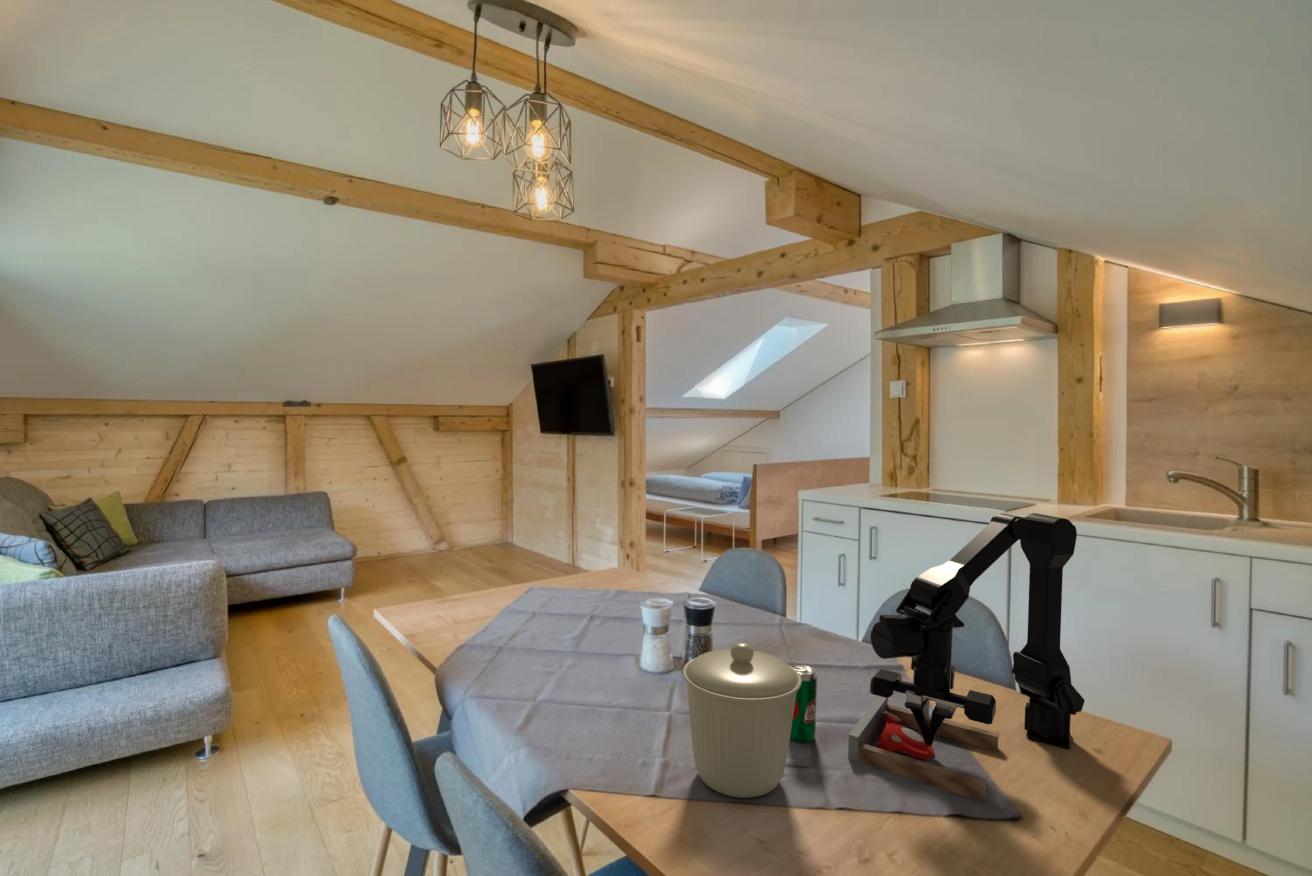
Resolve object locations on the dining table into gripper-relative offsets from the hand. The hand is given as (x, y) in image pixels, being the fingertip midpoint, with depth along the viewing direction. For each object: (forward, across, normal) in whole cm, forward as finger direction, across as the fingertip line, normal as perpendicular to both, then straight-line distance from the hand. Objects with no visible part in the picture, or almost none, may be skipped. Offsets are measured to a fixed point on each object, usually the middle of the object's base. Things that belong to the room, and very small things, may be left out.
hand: (929, 744), depth 106 cm
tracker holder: (+2, +4, -1) cm, 5 cm away
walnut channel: (+2, +1, 0) cm, 2 cm away
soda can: (+2, +20, +8) cm, 21 cm away
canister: (+2, +23, +26) cm, 34 cm away
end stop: (+2, +10, 0) cm, 10 cm away
